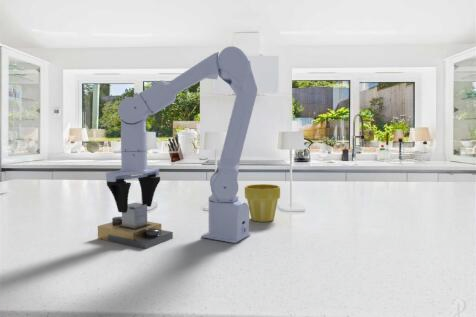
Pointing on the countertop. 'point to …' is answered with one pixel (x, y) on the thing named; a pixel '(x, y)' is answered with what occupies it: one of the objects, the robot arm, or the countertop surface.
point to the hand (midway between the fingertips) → (135, 209)
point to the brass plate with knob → (133, 234)
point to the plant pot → (262, 201)
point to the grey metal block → (135, 216)
